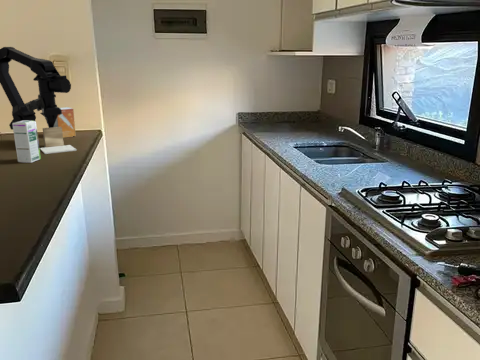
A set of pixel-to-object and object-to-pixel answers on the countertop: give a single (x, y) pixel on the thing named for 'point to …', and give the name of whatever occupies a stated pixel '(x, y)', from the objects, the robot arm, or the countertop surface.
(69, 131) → the small box
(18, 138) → the syrup box
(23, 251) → the countertop surface
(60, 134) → the beige and teal box
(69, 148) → the flat white panel
